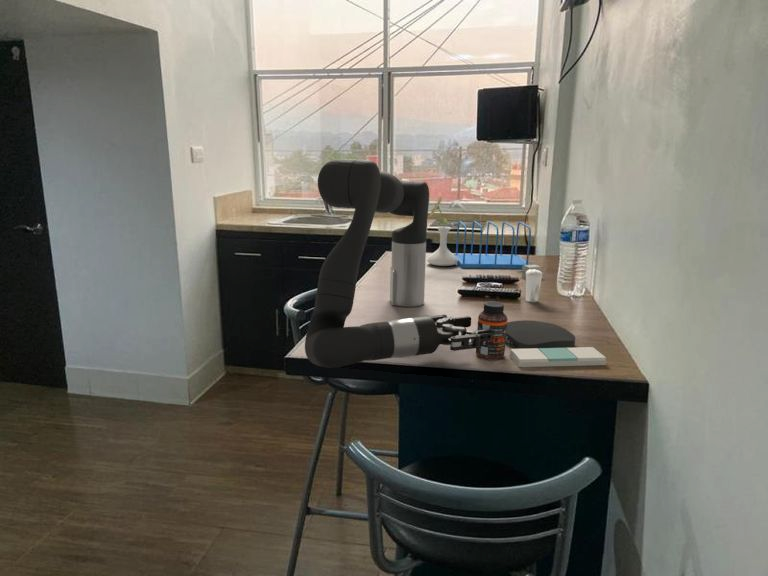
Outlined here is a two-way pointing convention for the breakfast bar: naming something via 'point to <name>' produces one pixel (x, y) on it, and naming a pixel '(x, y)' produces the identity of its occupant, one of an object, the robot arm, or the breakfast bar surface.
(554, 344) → the media streaming box
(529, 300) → the milkshake
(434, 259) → the flower in vase
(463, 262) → the file sorter
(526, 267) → the usb wall charger
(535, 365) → the key strip
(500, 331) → the supplement bottle
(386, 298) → the breakfast bar surface
